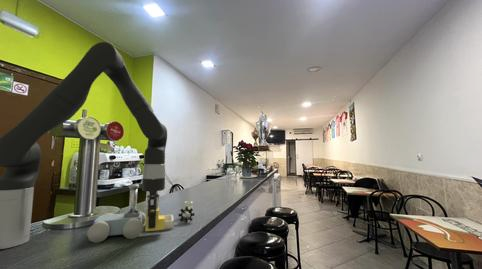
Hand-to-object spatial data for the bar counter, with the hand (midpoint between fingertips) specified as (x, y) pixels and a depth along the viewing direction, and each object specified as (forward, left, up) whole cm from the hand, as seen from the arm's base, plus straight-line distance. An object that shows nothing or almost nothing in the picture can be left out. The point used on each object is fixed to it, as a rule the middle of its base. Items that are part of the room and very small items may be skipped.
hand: (152, 225), depth 76 cm
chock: (+1, 0, -1) cm, 1 cm away
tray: (+3, +9, -3) cm, 10 cm away
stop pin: (-7, +5, +3) cm, 9 cm away
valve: (+14, +17, -4) cm, 22 cm away
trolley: (-11, +5, -3) cm, 13 cm away
